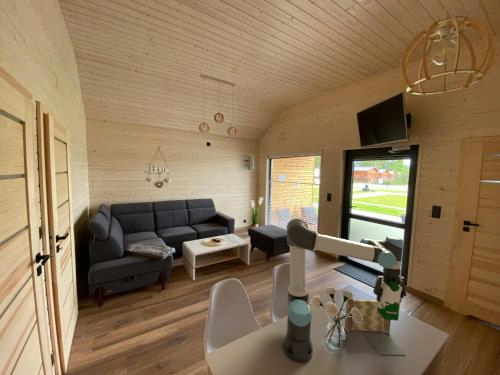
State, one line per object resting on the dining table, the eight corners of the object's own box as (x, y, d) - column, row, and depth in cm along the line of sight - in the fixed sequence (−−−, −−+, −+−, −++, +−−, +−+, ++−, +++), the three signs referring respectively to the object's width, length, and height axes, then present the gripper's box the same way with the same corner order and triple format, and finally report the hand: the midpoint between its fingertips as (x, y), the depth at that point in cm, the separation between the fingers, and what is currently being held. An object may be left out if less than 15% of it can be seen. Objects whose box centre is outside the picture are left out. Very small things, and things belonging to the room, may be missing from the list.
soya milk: (383, 320, 109) (386, 283, 108) (374, 309, 118) (377, 274, 117) (401, 322, 109) (404, 284, 107) (391, 310, 118) (394, 275, 116)
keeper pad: (379, 354, 109) (379, 354, 109) (366, 334, 122) (366, 334, 122) (405, 355, 109) (405, 354, 109) (389, 335, 122) (389, 334, 121)
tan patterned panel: (347, 331, 124) (349, 298, 122) (344, 326, 127) (346, 295, 125) (389, 332, 123) (392, 300, 122) (385, 328, 127) (388, 296, 125)
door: (352, 332, 123) (355, 302, 121) (350, 328, 126) (352, 299, 124) (384, 333, 123) (387, 303, 121) (381, 329, 126) (383, 300, 124)
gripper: (375, 269, 107) (371, 311, 109) (418, 270, 107) (413, 313, 109) (367, 262, 115) (364, 302, 117) (407, 263, 115) (403, 303, 117)
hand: (388, 307), depth 113 cm, fingers closed on soya milk, 9 cm apart
